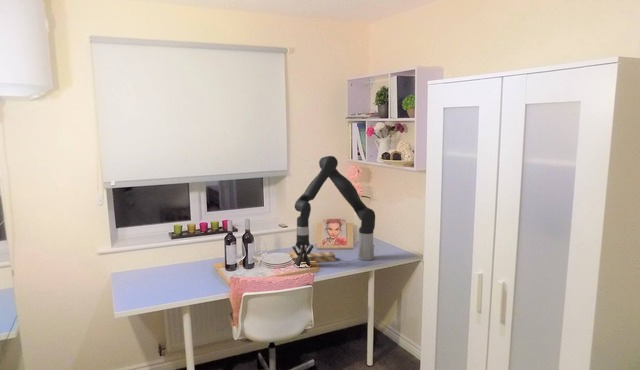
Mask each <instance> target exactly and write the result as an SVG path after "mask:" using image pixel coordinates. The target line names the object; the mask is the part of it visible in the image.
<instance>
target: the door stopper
mask: <svg viewBox="0 0 640 370" xmlns="http://www.w3.org/2000/svg"><path fill="white" fill-rule="evenodd" d="M302 249H303V247H302ZM302 249H301V254H300V256H299V255H298V256H297V259H296V262H295V264H296V265H297V266H300V264H301V260H302V256H303V254H305V257H306V261H305V262H306V263H305V264H307V265H308V266H310V265H311V264H312V263H310V261H309V259H308V256H307V253H306V250H305V251H304V250H302ZM305 249H306V248H305ZM295 264H294V265H295ZM311 266H312V265H311Z"/></svg>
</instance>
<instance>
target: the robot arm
mask: <svg viewBox="0 0 640 370" xmlns="http://www.w3.org/2000/svg"><path fill="white" fill-rule="evenodd" d="M338 163H339V161H338V159H337V158H336V156H334V155H326V156H324V157H321V158H320V159H319V161H318V164H319V165H318V166H319V168H320V171H319V173H318V174H317V175H316V176H315V177H314V178H313V180H311V182H310V183H309V184H308V186H307V188H306V189H305V190H304V192H303V193H302V194H301V195H300V196H299V197H298V198H297V200H296V201H295V204H294V209H295V211H297V212H299V214H300V215H299V216H298V217H297V218H296V243H295V245H292V247H291V248H292V249H293V251H294V254H297V255H299V256H300V254H301V249H302V247H303V249H302V250H304V251H305V250H306V253H307V255H308V254H310V253H312V250H313V249H314V245H313V244H311V243H310V225H309V223H310V222H309V221H310V220H309V218H310V215H311V209H312V206H311V203H310V201H313V200H314V199H315V198H316V196H317V195H318V194H319V192H320V190H321V188H322V187H323V185H324V184H325V182H326V181H327V179H328V178H329V180H330V181H331V182H332V183H333V185H334V186H335V187H336V189H337V190H338V192H339V193H340V194H341V196H342V197H343V198H344V199H345V201H347V203H348V204H349V206H351V208H352V210H353V211H354V212H355V214H356V216H357V217H358V219H359V220H360V221H361V223H360V227H359V228H358V254H357V255H358V256H357V257H358V258H357V259H359V260H361V261H371V260H374V259H375V244H374V230H375V227H376V226H375V225H376V213H375V211H374V209H372V208H369V207H368V206H367V205H366V204H365V203H364V202H363V201H362V200H361V198H360V195H359V193H358V191H357V189H356V187H355V186H354V185H353V183H352V182H351V181H350V180H349V179H348V178H347V177H345V176H344V175H343V174H341V173H340V171H339V170H338V169H337V167H338ZM305 248H306V249H305ZM297 249H298V250H297ZM305 261H306V257H305V254H304V262H305ZM301 262H302V260H301Z"/></svg>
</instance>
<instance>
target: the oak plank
mask: <svg viewBox="0 0 640 370" xmlns="http://www.w3.org/2000/svg"><path fill="white" fill-rule="evenodd" d="M289 255H290V257H291V258H292V260H293V261H294V262H296V259H297V256H298V255H297V254H296V253H292V254H290V253H289ZM307 256H308V259H309V261H316V262H317V263H329V262H330V263H332V262H336V254H335V253H333V252H332V251H327V252H326V251H324V252H323V251H322V252H310V254H308V255H307ZM302 262H304V254H303V256H302Z"/></svg>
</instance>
